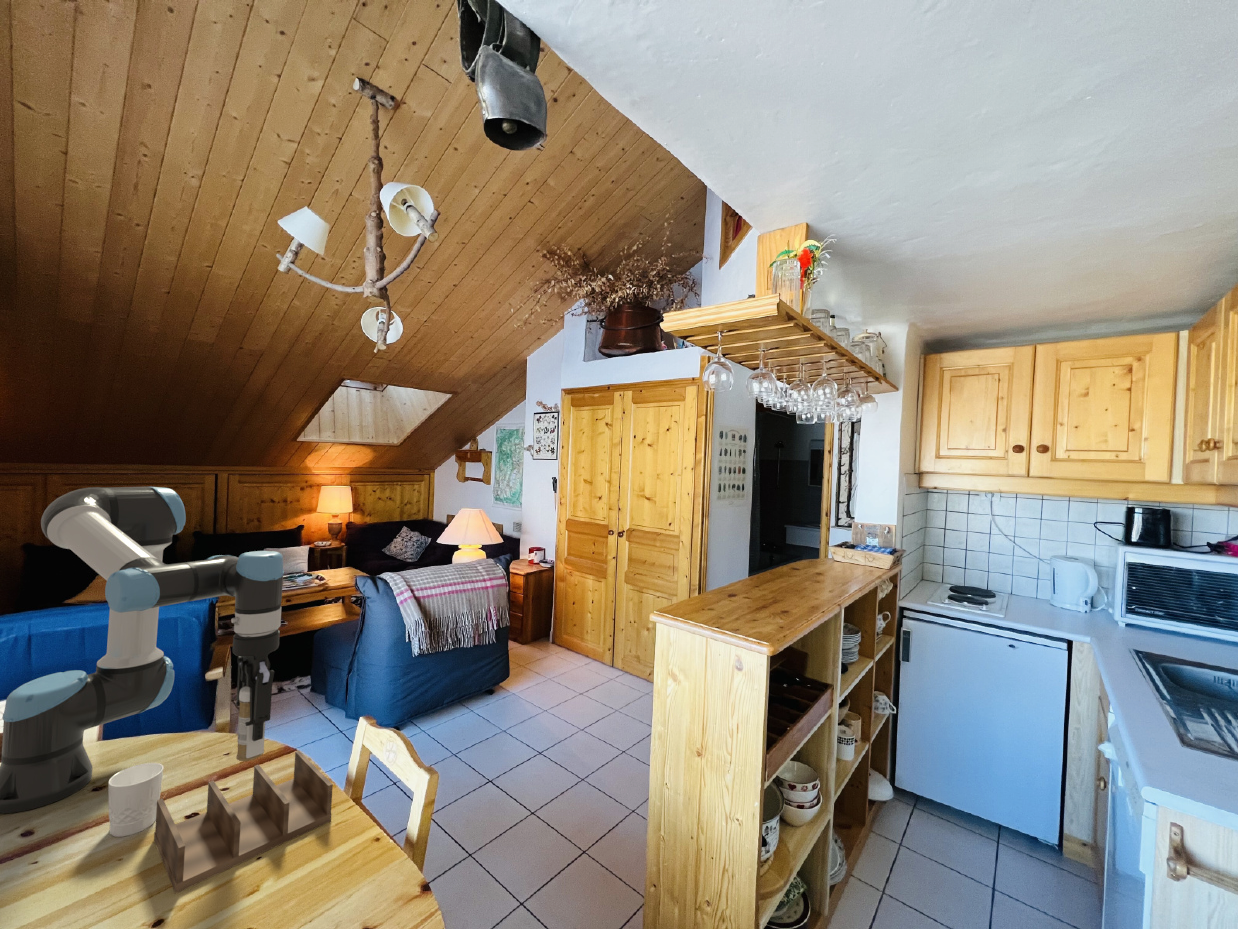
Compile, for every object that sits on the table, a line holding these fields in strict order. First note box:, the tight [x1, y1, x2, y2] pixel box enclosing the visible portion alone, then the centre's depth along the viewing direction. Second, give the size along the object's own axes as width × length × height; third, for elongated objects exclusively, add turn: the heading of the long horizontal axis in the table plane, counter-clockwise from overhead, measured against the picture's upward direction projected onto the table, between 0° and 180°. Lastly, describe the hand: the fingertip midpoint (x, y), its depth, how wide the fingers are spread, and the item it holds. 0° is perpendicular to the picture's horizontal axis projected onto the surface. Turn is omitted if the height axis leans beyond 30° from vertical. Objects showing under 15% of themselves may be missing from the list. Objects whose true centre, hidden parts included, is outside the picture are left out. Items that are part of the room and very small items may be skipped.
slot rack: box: [153, 750, 334, 895], centre depth 101 cm, size 18×24×8 cm
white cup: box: [107, 762, 164, 837], centre depth 101 cm, size 8×8×10 cm
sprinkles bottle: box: [236, 686, 264, 762], centre depth 101 cm, size 5×5×13 cm
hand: (250, 749), depth 101 cm, fingers closed on sprinkles bottle, 4 cm apart
